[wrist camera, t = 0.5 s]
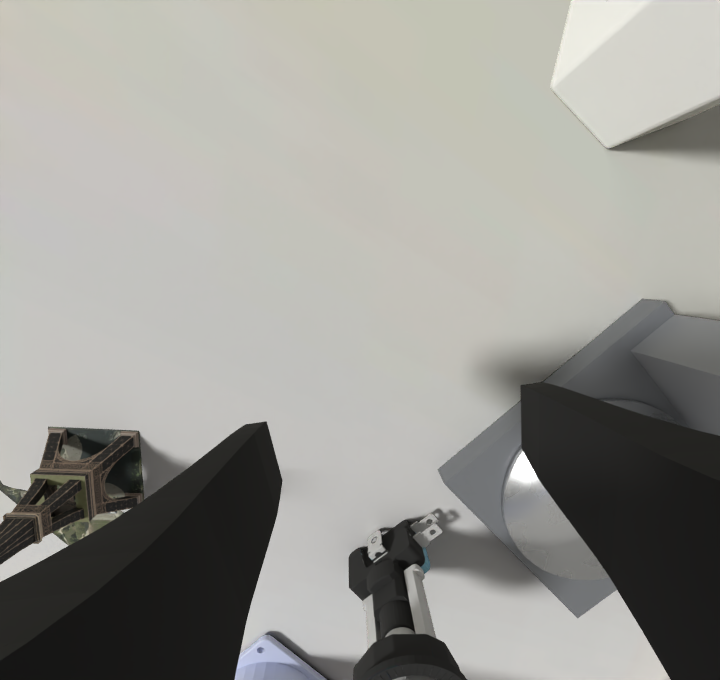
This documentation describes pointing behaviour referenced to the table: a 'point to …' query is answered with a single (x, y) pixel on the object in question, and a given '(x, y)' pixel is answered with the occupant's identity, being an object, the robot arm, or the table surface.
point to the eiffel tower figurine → (74, 487)
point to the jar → (638, 64)
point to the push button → (399, 607)
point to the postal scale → (609, 384)
